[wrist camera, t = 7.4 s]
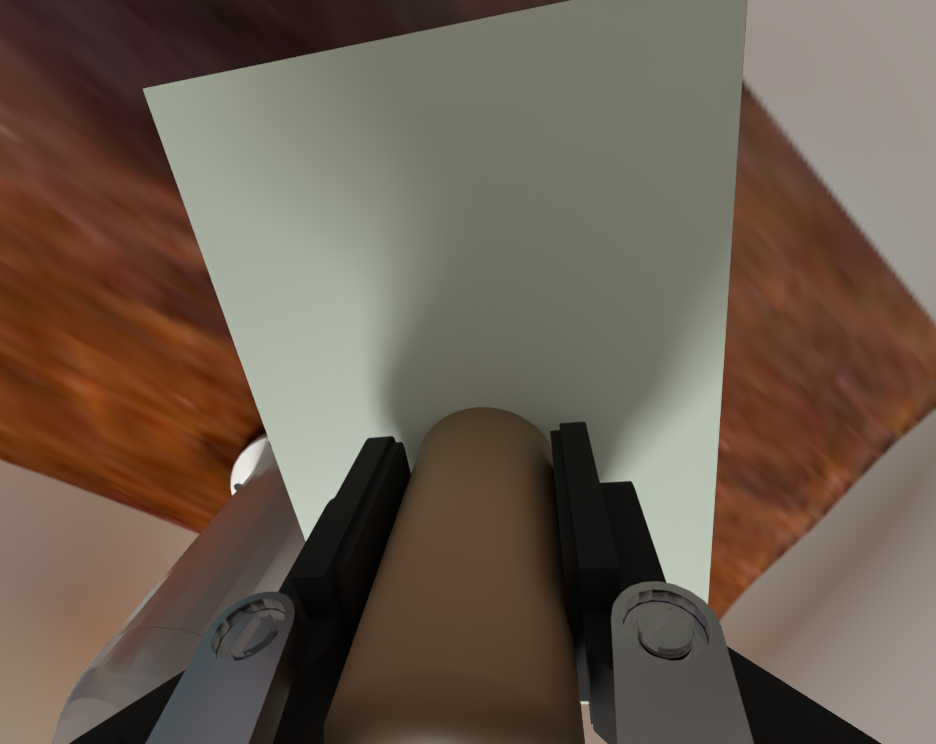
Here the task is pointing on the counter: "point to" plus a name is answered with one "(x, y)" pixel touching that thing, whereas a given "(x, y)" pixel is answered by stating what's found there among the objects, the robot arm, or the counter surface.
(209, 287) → the counter surface
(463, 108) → the lid
